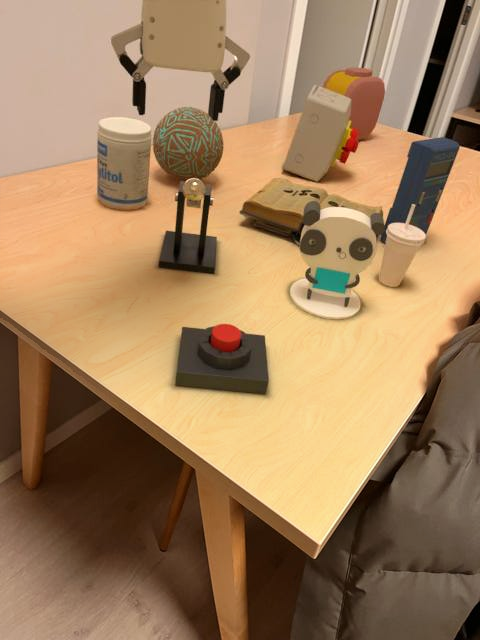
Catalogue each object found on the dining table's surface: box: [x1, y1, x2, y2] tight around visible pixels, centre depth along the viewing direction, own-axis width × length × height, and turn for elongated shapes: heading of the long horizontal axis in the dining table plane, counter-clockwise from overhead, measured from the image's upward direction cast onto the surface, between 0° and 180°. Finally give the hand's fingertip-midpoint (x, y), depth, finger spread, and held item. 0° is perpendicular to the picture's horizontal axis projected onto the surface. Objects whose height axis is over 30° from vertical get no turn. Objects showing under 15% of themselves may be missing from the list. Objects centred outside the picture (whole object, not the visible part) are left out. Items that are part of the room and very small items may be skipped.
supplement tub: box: [96, 116, 152, 211], centre depth 99 cm, size 10×10×15 cm
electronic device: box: [380, 136, 461, 244], centre depth 101 cm, size 10×5×20 cm, turn 129°
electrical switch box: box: [281, 84, 360, 183], centre depth 128 cm, size 15×15×20 cm
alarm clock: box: [322, 67, 386, 141], centre depth 158 cm, size 18×11×19 cm, turn 130°
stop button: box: [211, 323, 242, 352], centre depth 65 cm, size 4×4×2 cm
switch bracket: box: [158, 180, 218, 275], centre depth 86 cm, size 11×9×12 cm
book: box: [238, 177, 384, 246], centre depth 103 cm, size 25×17×6 cm
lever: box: [183, 178, 206, 209], centre depth 79 cm, size 13×3×3 cm, turn 1°
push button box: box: [174, 325, 270, 395], centre depth 66 cm, size 11×9×4 cm
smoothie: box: [378, 204, 427, 288], centre depth 88 cm, size 6×6×14 cm
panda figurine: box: [289, 201, 385, 320], centre depth 80 cm, size 12×11×15 cm
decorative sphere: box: [152, 106, 224, 182], centre depth 112 cm, size 15×15×15 cm
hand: (177, 115), depth 70 cm, fingers open, 9 cm apart
